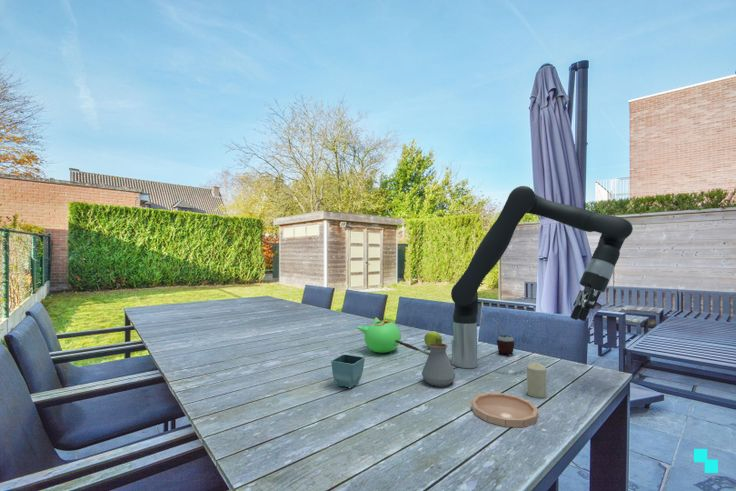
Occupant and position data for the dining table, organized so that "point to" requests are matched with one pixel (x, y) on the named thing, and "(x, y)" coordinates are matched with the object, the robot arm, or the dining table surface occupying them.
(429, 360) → the coffee pot
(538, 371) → the candle
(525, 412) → the saucer
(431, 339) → the apple
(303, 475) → the dining table surface
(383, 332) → the green teapot
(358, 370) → the flower pot
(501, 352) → the mate gourd
